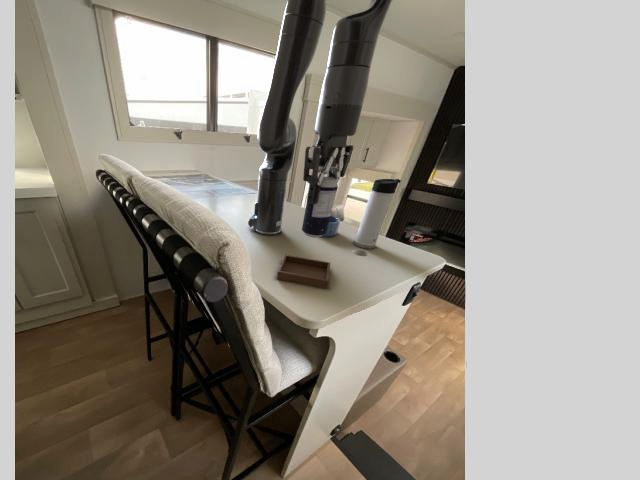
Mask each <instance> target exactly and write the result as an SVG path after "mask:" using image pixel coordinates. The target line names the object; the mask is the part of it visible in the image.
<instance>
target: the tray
mask: <svg viewBox="0 0 640 480" xmlns="http://www.w3.org/2000/svg"><path fill="white" fill-rule="evenodd" d="M330 272H331V262H330V261H329V262H328V261H323V260H317V259H311V258H306V257H300V256H294V255H287V254H284V256H283V259H282V260H281V263H280V266H279V268H278V270H277V275H276V279H277V280H281V281H286V282H291V283H296V284H301V285H306V286H312V287H317V288H321V289H328V287H329V284H330V274H331V273H330Z"/></svg>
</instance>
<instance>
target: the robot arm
mask: <svg viewBox="0 0 640 480" xmlns="http://www.w3.org/2000/svg"><path fill="white" fill-rule="evenodd" d="M392 3H393V0H370V3H369V5H368V7H367V9H365V10H362V11H359V12H355V13H352V14H348V15H345V16H343V17H341V18H340V19H339V20H338V21H337V22H336V23H335V26H334V28H333V32H332V36H331V42H330V47H329V52H328V59H327V63H326V70H325V74H324V78H323V81H322V85H321V91H320V94H319V95H320V96H319V102H318V108H317V114H316V118H315V125H314V131H313V132H314V133H315V134H316V135H318V139H317V141H316V145H314V146H307V147H306V148H305V151H304V153H305V154H304V164H303V165H304V166H303V179H302V180H303V182H307V183H308V184H309V186H308V191H307V196H306V203H309V204H313V205H314V204H317V202H318V198H319V193H320V188H321V183H322V180H323V178H324V177H325V175H326V177H331V178H335V179H337V182H339V181H340V179H341V178H344V177H345V175H346V172H347V169H348V165H349V163H350V159H351V156H352V154H353V151H354V145H353V144H352V145H351V144H348V143H347V142H348V137H352V136H355V134H356V133H357V129H358V126H359V121H360V118H361V113H362V109H363V106H364V101H365V97H366V94H367V90H368V86H369V85H368V84H369V78H370V73H371V67H372V65H373V60H374V56H375V51H376V47H377V44H378V40H379V37H380V33H381V30H382V27H383V25H384V24H385V23H384V22H385V20H386V17H387V14H388V12H389V10H390V8H391V5H392ZM326 13H327V0H287V1H286V6H285V10H284V13H283V18H282V24H281V29H280V33H279V34H280V35H279V39H278V45H277V50H276V55H275V59H274V64H273V69H272V73H271V79H270V84H269V88H268V91H267V96H266V100H265V103H264V106H263V110H262V112H261V116H260V120H259V124H258V127H257V133H256V135H257V136H256V137H257V138H256V139H257V144H258V148H259V149H260V150H261V151H262V152H263V153H264V154H265V158H264V161H263V163H262V164H261V165H260V167H259V170H258V180H257V181H258V182H257V192H256V193H257V195H256V202H255V203H254V212H253V214H252V215H251V217H250V218H249V219H248V222H247V224H248V227H249V228H252V227H253V228H252V232H256V233H258V234H261V235H265V236H266V235H267V236H272V235H273V236H274V235H277V234H280V233H281V232H282V224H283V215H284V209H285V202H286V201H285V200H286V195H287V194H286V193H287V187H288V180H289V179H288V178H289V173H290V170H291V168H292V166H293V160H294V154H295V149H296V143H297V126H296V124H295V122H294V120H293V119H292V118H291V117H290V115H291V110H292V106H293V103H294V99H295V96H296V93H297V91H298V89H299V87H300V85H301V83H302V81H303V80H304V77H305V76H306V73H307V72H308V70H309V68H310V65H311V63H312V61H313V59H314V58H315V54H316V51H317V48H318V44H319V41H320V37H321V34H322V32H323V31H322V30H323V26H324V23H325V19H326ZM310 170H311V171H310Z"/></svg>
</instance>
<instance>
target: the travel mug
mask: <svg viewBox="0 0 640 480" xmlns="http://www.w3.org/2000/svg"><path fill="white" fill-rule="evenodd" d="M401 181H402V180H401V179H400V178H379V179H375V180H374V182H373V183H372V184H373V185H372V187H371V190H370V193H369V195H368V196H369V197H368V199H367V202H366V206H365V207H364V208H365V209H364V211H363V214H362V217H361V221H360V224H359V226H358V229H357V230H358V231H357V234H356V236H355V239H354V242H353V243H354V245H355V246H357V247H358V248H362V249H367V250H368V249H369V250H371V249H373V248H375V247H376V244H377V241H378V238H379V236H380V234H381V231H382V228H383V226H384V223H385V220H386V218H387V215H388V213H389V209H390V208H391V205H392V202H393V200H394V197H395V195H396V191H397V188H398V185H399V184H400V183H401Z"/></svg>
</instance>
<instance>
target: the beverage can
mask: <svg viewBox="0 0 640 480" xmlns="http://www.w3.org/2000/svg"><path fill="white" fill-rule="evenodd" d="M338 188H339V187H338V181H337V179H335V178H331V177H327V176H324V178H323V180H322V183H321V188H320V193H319V198H318V202H317V204H314V205H313V204H309V203H307V202H306V204H305V210H304V215H303V220H302V226H301V227H302V228H301V231H302V232H303V233H304V235H305V236H306V237H309V238H321V237H324V236H323V235H324V234H326V233H327V229H328V225H329V220H330V216H332V211H333V209H334V203H335V201H336V196H337V192H338Z"/></svg>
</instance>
